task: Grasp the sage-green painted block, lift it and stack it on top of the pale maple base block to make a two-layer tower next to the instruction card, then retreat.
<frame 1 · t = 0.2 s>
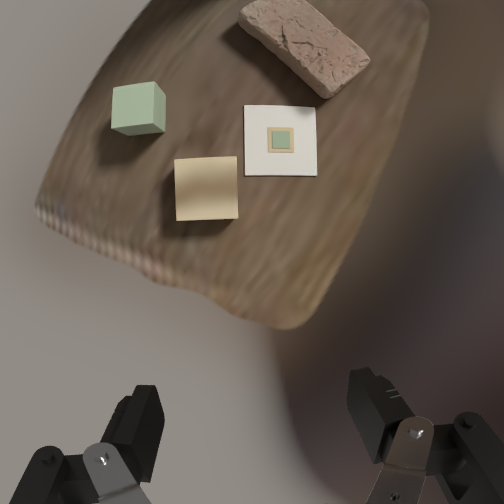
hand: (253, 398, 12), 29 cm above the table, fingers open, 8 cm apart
brick: (298, 46, 35), on the table
base block: (208, 188, 38), on the table
instruction page: (280, 139, 37), on the table
green block: (146, 115, 35), on the table
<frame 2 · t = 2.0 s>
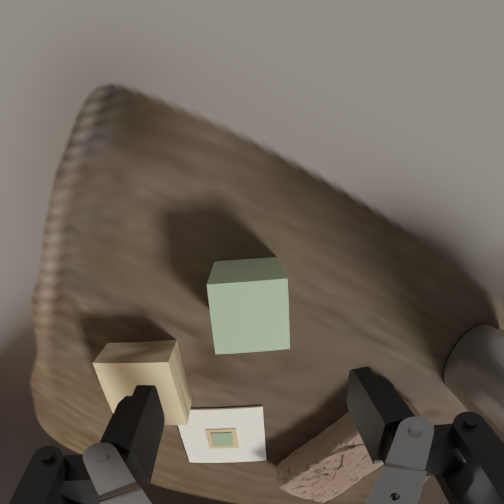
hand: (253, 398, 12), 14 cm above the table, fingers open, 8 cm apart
brick: (345, 436, 30), on the table
base block: (150, 371, 27), on the table
instruction page: (222, 437, 29), on the table
green block: (247, 288, 25), on the table
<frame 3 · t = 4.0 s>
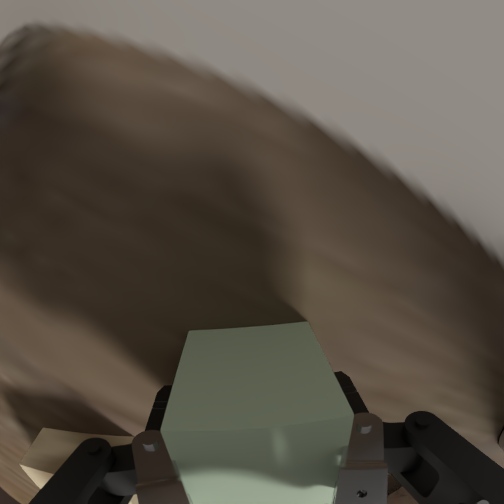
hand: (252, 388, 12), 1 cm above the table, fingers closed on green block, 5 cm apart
base block: (108, 466, 15), on the table
green block: (252, 375, 13), on the table, touching gripper
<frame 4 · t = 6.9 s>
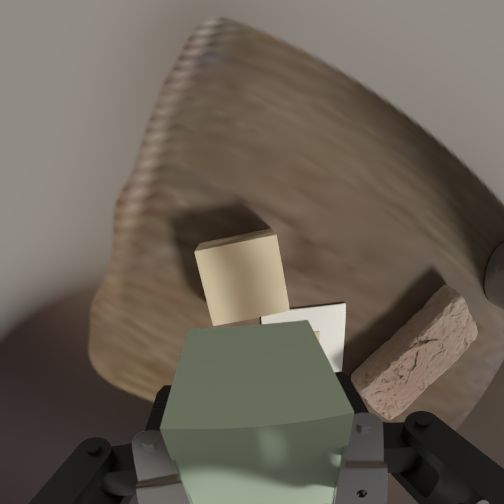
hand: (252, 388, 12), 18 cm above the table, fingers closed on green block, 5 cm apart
brick: (409, 345, 34), on the table
base block: (242, 269, 31), on the table
instruction page: (304, 345, 32), on the table
green block: (252, 374, 13), point 17 cm above the table, touching gripper
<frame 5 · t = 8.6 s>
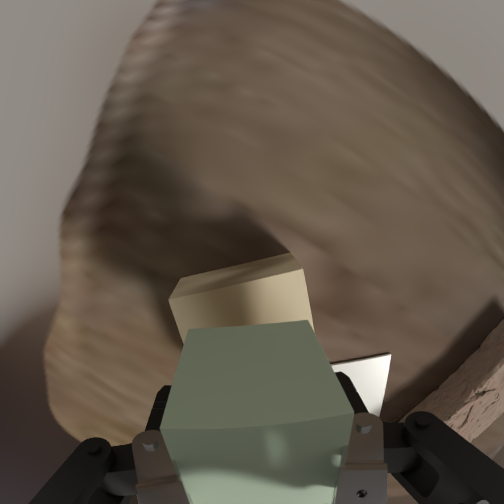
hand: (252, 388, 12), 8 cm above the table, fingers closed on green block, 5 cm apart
brick: (456, 392, 23), on the table
base block: (247, 314, 20), on the table
instruction page: (331, 408, 22), on the table
green block: (252, 373, 13), point 7 cm above the table, touching gripper
when the fingers open (6 cm above the table, at t = 9.8 s): green block drops 2 cm, resting on base block.
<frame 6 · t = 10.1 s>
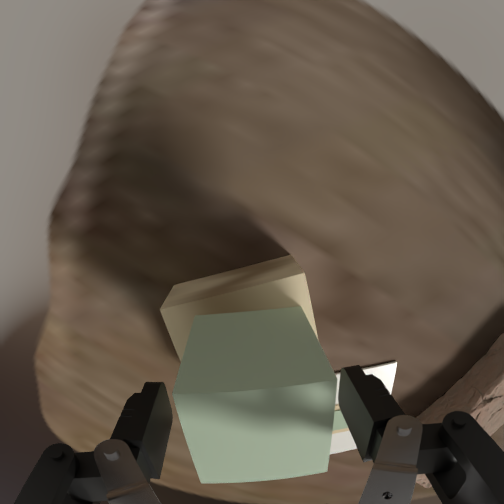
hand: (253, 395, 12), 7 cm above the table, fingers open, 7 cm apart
brick: (461, 398, 22), on the table
base block: (246, 321, 19), on the table, touching green block
instruction page: (334, 417, 21), on the table
green block: (252, 356, 15), point 4 cm above the table, touching base block
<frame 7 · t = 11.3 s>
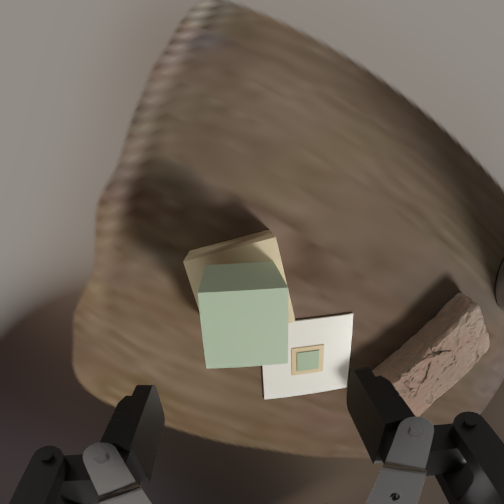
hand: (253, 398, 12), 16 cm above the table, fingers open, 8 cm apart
brick: (418, 355, 31), on the table
base block: (239, 277, 27), on the table, touching green block
instruction page: (307, 359, 29), on the table
green block: (241, 295, 23), point 4 cm above the table, touching base block
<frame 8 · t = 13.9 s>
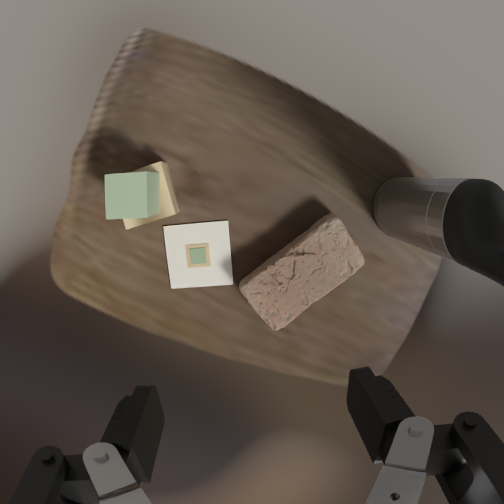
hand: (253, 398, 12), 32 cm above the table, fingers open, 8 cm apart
brick: (299, 266, 45), on the table
base block: (150, 194, 41), on the table, touching green block
instruction page: (198, 255, 43), on the table
green block: (141, 193, 37), point 4 cm above the table, touching base block
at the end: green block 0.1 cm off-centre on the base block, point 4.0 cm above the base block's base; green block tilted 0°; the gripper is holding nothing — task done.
